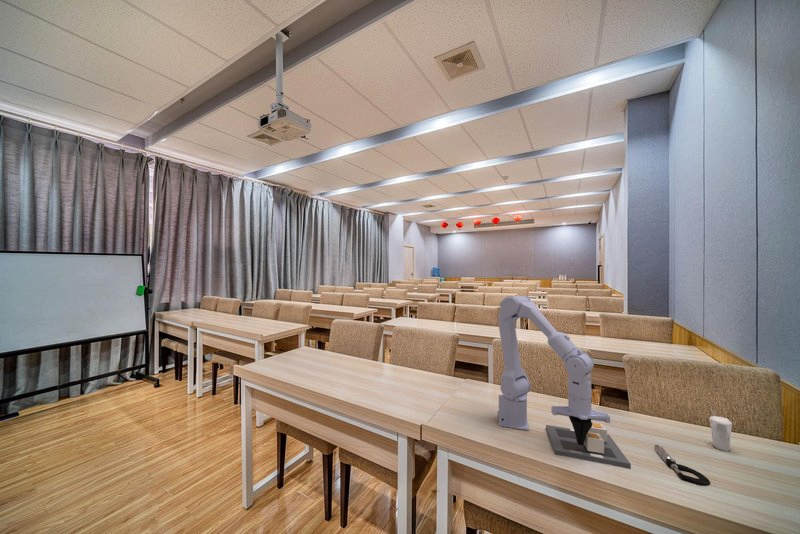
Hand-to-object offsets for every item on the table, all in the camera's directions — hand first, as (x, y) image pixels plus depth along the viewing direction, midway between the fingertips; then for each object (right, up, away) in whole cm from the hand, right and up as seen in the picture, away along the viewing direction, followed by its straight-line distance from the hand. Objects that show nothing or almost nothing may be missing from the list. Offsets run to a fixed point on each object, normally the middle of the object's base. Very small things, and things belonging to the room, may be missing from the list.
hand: (579, 443), depth 83 cm
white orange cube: (+3, -1, -1) cm, 3 cm away
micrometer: (+24, -3, -6) cm, 25 cm away
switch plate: (+3, -3, +3) cm, 5 cm away
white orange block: (+8, -1, +5) cm, 9 cm away
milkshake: (+45, -4, +3) cm, 45 cm away
